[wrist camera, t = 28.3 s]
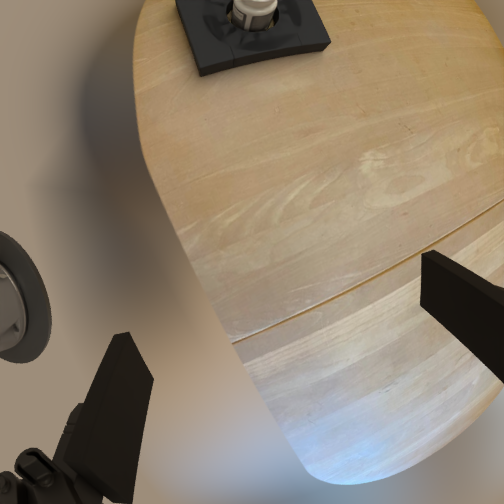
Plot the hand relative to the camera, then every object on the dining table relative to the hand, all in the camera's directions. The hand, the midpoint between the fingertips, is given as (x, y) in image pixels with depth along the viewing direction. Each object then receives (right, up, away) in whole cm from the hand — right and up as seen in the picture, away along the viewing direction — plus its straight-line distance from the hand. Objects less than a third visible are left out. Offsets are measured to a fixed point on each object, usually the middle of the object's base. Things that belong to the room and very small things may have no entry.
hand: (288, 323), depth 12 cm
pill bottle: (-2, +31, +18) cm, 36 cm away
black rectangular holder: (-2, +31, +17) cm, 36 cm away
